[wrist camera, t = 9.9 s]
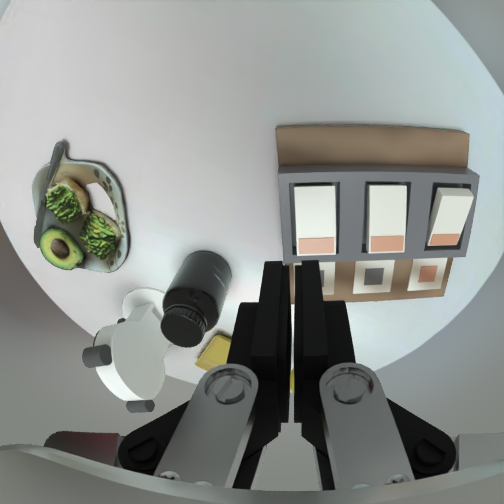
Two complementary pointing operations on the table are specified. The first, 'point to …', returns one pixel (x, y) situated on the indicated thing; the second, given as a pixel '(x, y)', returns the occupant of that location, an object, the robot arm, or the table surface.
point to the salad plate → (78, 216)
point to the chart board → (375, 152)
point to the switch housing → (355, 207)
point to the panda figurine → (133, 351)
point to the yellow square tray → (214, 353)
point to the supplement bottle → (195, 299)
